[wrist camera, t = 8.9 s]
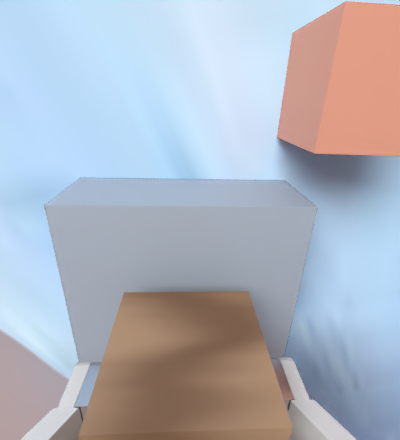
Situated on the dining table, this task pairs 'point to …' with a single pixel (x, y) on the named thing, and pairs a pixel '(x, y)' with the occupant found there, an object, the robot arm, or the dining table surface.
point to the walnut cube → (186, 372)
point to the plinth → (178, 248)
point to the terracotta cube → (345, 82)
